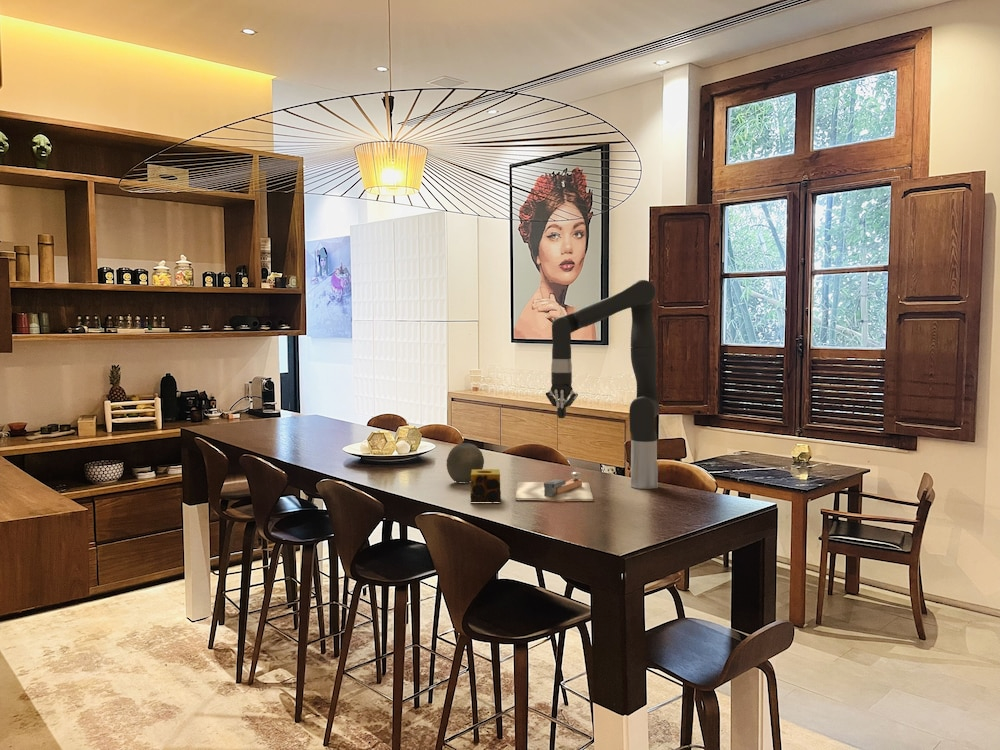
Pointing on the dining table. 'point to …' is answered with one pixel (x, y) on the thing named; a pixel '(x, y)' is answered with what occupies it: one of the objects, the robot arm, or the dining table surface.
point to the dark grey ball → (464, 461)
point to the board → (537, 492)
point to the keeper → (552, 487)
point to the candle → (485, 485)
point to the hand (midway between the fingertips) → (561, 418)
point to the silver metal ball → (575, 475)
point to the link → (569, 485)
